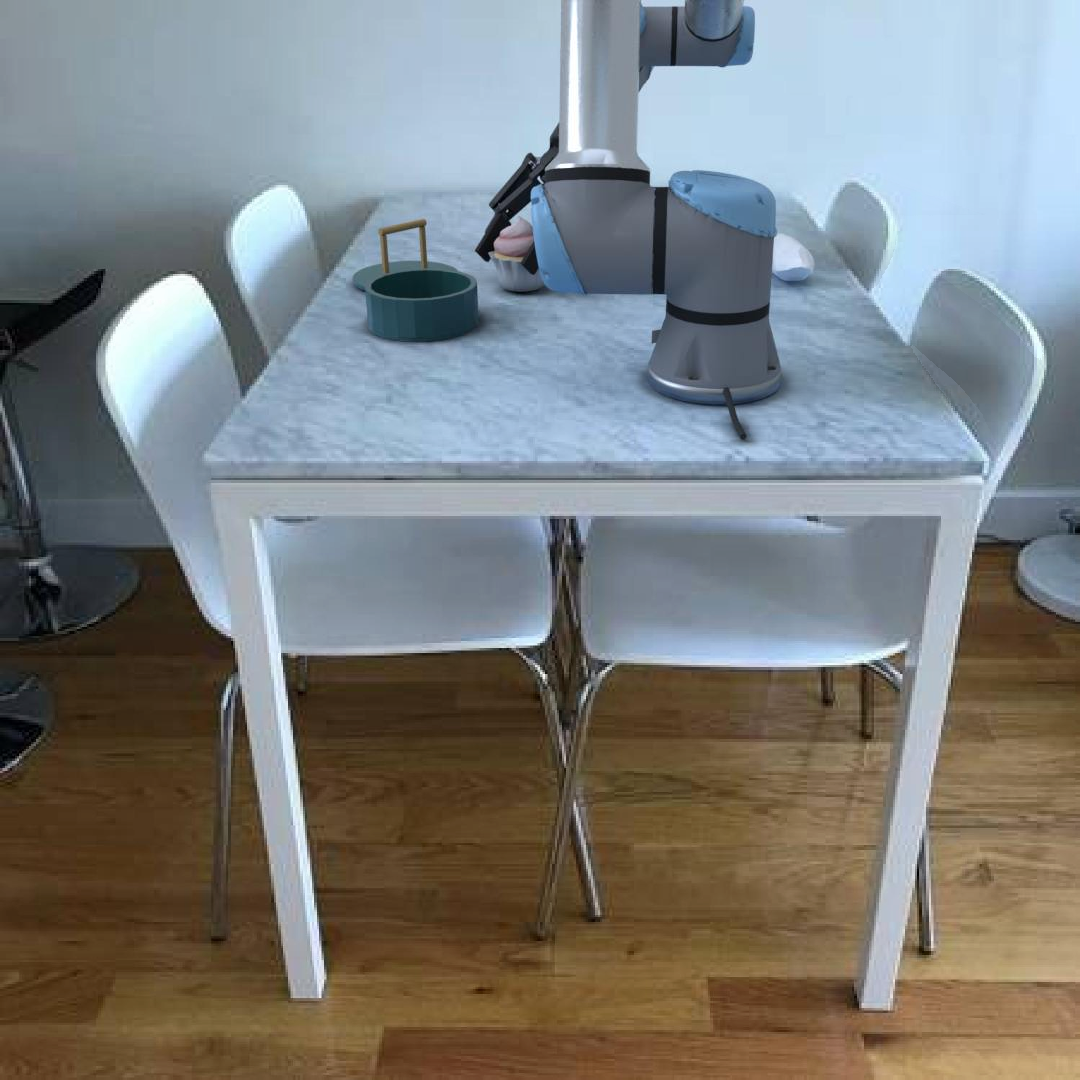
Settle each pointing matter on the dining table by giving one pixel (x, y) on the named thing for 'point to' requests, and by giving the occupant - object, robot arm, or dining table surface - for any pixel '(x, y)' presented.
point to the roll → (791, 259)
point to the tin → (422, 304)
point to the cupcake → (515, 257)
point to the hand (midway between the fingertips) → (504, 262)
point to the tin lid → (387, 267)
